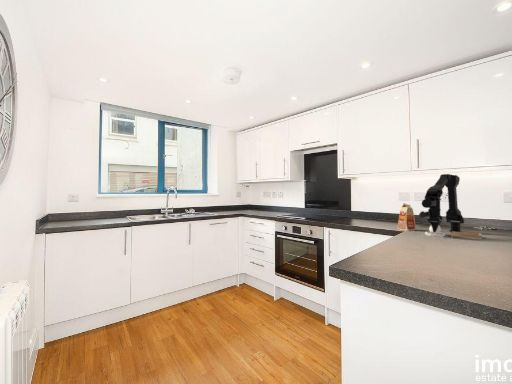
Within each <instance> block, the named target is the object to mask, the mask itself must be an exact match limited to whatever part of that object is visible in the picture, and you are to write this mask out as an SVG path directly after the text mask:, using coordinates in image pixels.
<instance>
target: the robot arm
mask: <svg viewBox="0 0 512 384" xmlns="http://www.w3.org/2000/svg"><path fill="white" fill-rule="evenodd" d="M460 179H461V178H460V177H459V176H458V175H456V174H455V175H454V174H451V173H450V174H449V173H443V174H440V176H439V178H438V179H437V181H436V182H435V183H434V185H432V186H430V187H429V188H428V189H427V190H426V193H425V195H424V199H423V200H422V202H421V205H422V207H423V208H425V209H428V211H424V210H422V211H420V212H419V213H418V216H419V218H420V219H424V218H426V217H427V218H426V220H427V222H428V223H430V226H431V225H432V229H433V232H436V230H437V228H438V226H440V225H441V223H442V221H443V216H442V215H441V211H442V210H441V201H442V199H441V197H442V195H443V193H444V191H443V190H444V188H445V187H446V188H447V197H448V210H447V211H445V219H446V223H449V232H450V233H451V232H452V231H454V232H463V231H462V230H461V228H462V225H463V224H465V219H464V216H463V215H462V211H461V210H460V209H459V207H458V193H457V187H458V186H459V184H460ZM461 224H462V225H461Z"/></svg>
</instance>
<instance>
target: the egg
mask: <svg viewBox="0 0 512 384" xmlns="http://www.w3.org/2000/svg"><path fill="white" fill-rule="evenodd" d="M428 230H429V232H431V233H433V234H439V233H440V232H442V228H441V226H440V225H439V226H438V228H437V230H436V232H433V229H432V225H431V224H430V226H429V229H428Z"/></svg>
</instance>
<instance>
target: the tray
mask: <svg viewBox="0 0 512 384" xmlns="http://www.w3.org/2000/svg"><path fill="white" fill-rule="evenodd" d="M450 237H451V238H462V239H474V240H482V233H480V232H468V231H467V232H465V231H462V232H454V231H452V232H450Z"/></svg>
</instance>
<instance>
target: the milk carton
mask: <svg viewBox="0 0 512 384" xmlns="http://www.w3.org/2000/svg"><path fill="white" fill-rule="evenodd" d="M402 203H403V204H402V206H400V211H399V215H398V222H397V227H396V228H397V230H401V231H410V230H411V231H416V230H417V228H416V227H417V226H416V220H415V214H414V208H413V207H412V206H411V204H407V203H406V202H405V203H404V202H402Z"/></svg>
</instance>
